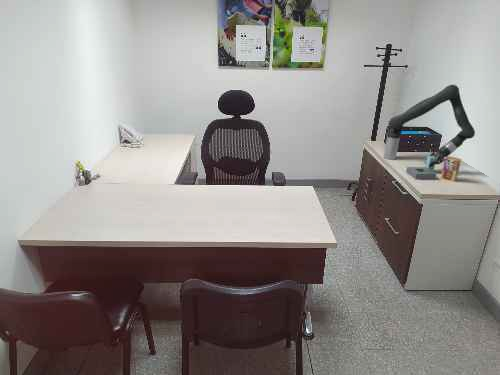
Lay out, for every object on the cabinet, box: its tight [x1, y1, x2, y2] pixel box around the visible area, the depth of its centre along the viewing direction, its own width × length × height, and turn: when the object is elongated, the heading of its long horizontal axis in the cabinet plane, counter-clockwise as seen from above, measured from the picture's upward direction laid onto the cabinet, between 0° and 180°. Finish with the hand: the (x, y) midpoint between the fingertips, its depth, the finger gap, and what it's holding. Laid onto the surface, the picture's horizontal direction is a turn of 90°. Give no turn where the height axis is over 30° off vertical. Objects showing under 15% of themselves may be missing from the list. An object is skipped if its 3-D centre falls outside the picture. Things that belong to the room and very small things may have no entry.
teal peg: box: [424, 155, 436, 172], centre depth 261 cm, size 4×4×11 cm
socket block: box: [405, 166, 437, 180], centre depth 253 cm, size 14×14×4 cm
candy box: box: [440, 155, 462, 182], centre depth 246 cm, size 9×4×15 cm, turn 39°
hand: (427, 164), depth 261 cm, fingers open, 5 cm apart
